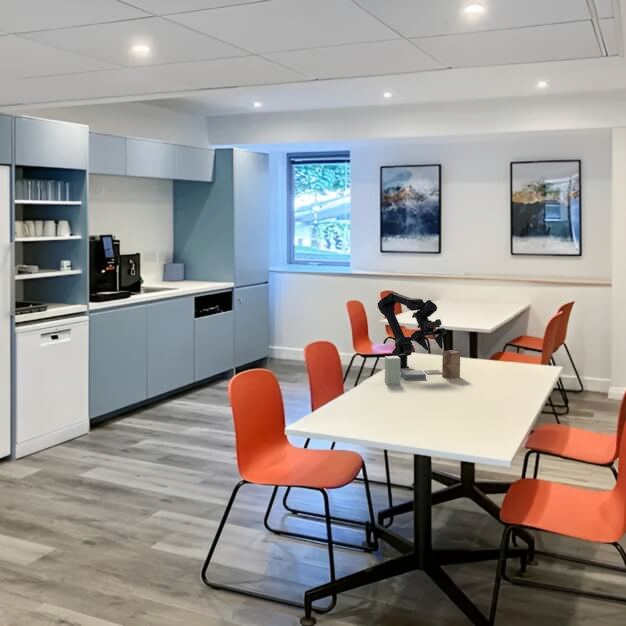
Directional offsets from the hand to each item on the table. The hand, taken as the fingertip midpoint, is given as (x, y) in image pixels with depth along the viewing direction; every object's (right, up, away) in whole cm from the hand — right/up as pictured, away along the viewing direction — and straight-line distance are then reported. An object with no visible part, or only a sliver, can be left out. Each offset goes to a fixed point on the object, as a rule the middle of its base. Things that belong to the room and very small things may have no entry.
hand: (434, 349), depth 368 cm
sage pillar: (-23, -15, -16) cm, 32 cm away
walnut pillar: (+7, -13, -3) cm, 16 cm away
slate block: (-11, -14, -4) cm, 18 cm away
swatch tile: (+1, -12, +8) cm, 14 cm away
